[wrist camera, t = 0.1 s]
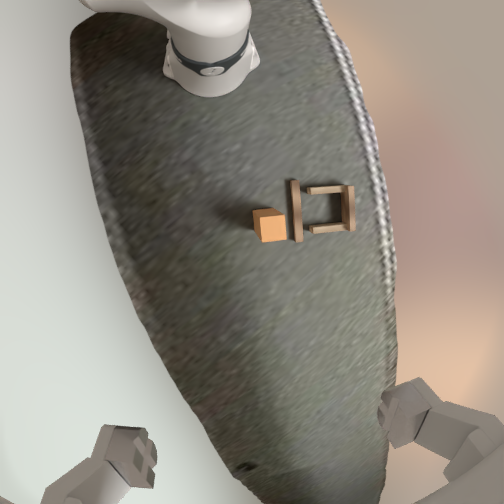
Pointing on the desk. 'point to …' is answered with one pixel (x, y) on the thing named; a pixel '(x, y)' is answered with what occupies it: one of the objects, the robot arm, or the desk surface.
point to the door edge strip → (296, 210)
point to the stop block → (269, 224)
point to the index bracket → (346, 209)
